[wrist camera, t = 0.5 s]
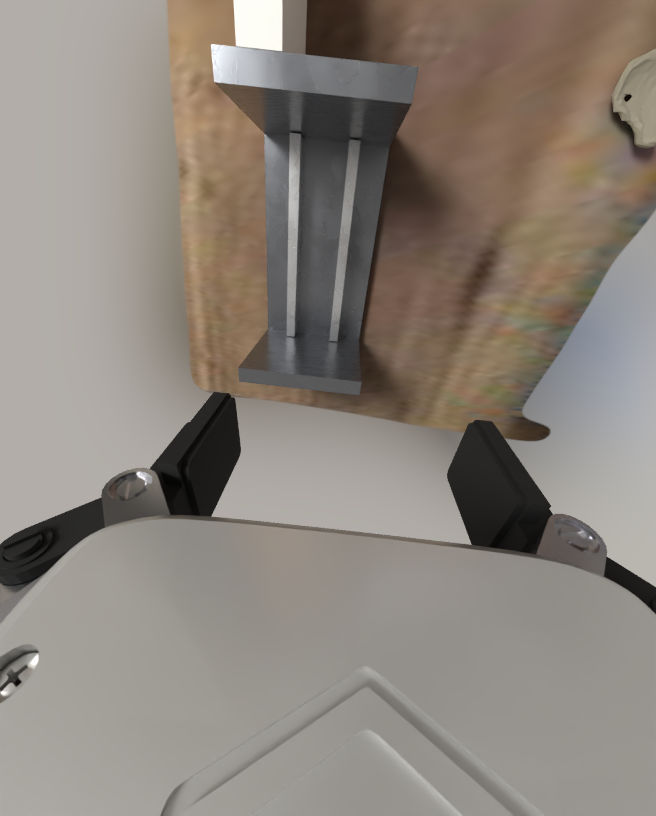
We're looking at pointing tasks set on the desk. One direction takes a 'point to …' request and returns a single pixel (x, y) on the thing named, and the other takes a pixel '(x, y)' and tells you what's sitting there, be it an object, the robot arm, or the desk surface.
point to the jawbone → (638, 98)
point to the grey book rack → (316, 202)
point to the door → (271, 25)
